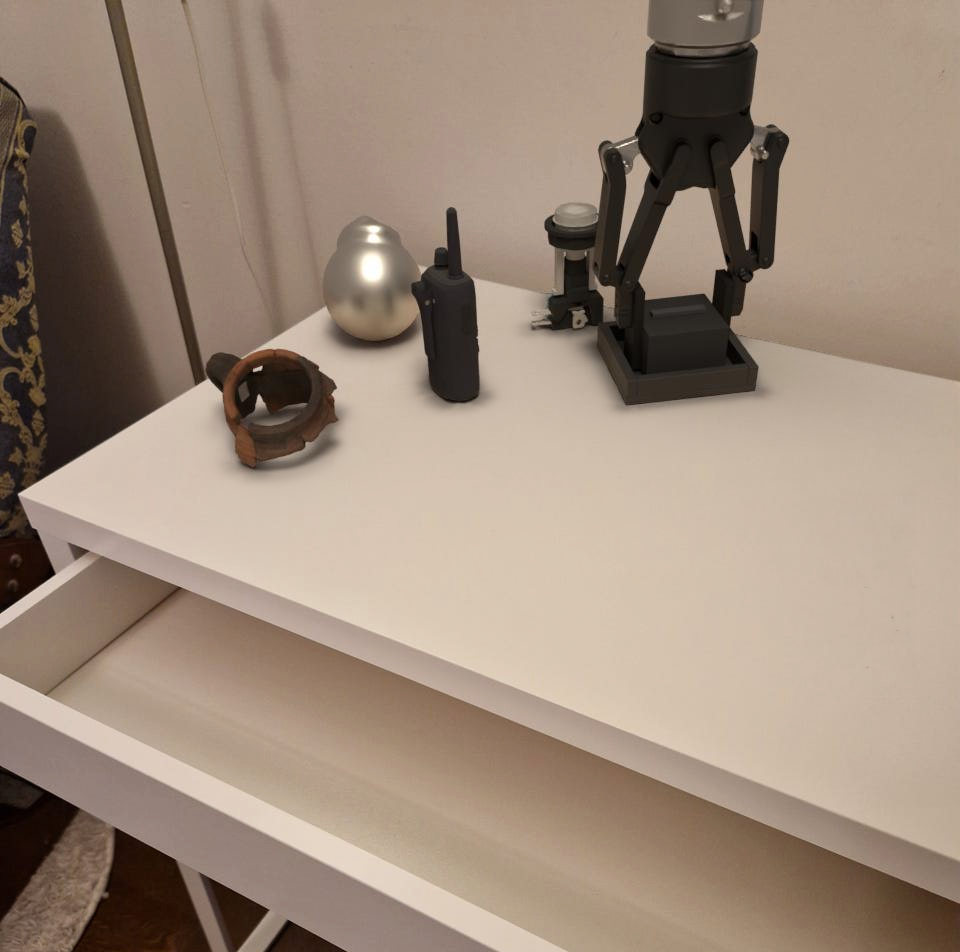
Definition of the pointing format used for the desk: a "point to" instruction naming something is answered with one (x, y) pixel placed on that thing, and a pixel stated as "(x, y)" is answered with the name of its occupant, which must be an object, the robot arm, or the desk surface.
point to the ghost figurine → (371, 281)
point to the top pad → (682, 335)
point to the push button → (573, 268)
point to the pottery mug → (272, 400)
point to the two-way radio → (449, 320)
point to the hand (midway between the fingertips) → (674, 356)
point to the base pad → (675, 372)
